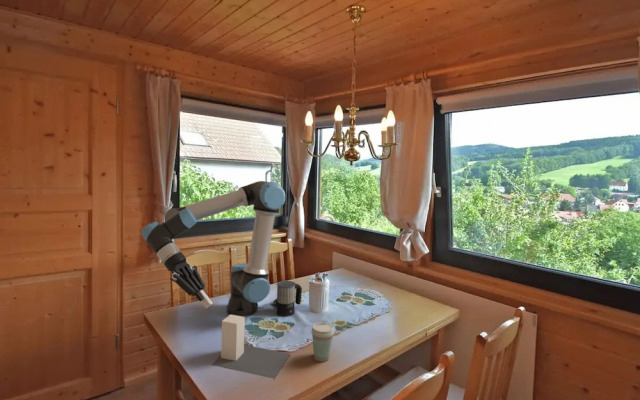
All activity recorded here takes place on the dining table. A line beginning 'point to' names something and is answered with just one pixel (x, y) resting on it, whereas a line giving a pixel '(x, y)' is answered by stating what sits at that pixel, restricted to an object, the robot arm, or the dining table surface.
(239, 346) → the cream block
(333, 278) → the dining table surface
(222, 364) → the charcoal mat
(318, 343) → the coffee cup
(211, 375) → the dining table surface
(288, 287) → the milk frother
